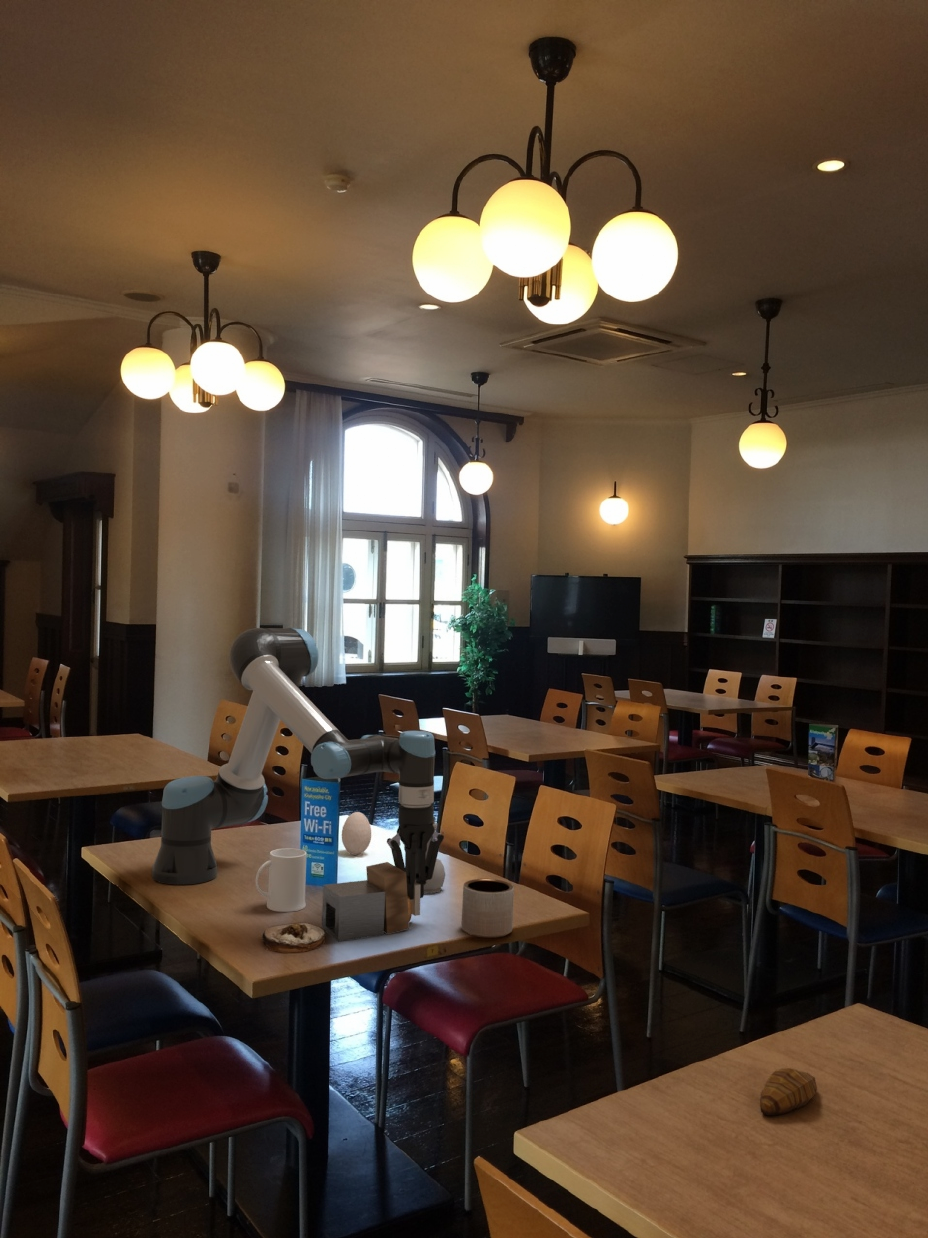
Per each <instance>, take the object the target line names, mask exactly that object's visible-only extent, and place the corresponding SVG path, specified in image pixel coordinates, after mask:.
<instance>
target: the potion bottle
mask: <svg viewBox="0 0 928 1238" xmlns="http://www.w3.org/2000/svg"><path fill="white" fill-rule="evenodd" d="M433 826H434V828H435V831H436V832H437V829H438V823H437V822H436V817H435V816H434V820H433ZM430 841H431V839H430V840H429V841H428V843H427V851H426V856H427V852H428V847H429V843H430ZM425 860H426V859H425ZM445 879H446V871H445V866H444V864H443V862H442V860H441V859H438V858H437V859H436V863H435V868H434V872H433V876H432V879H430V880H429V879H428V880H427V881H426V884H425V885H424V894H436V892H437V893H440V892H441V891H442V888H443V886H444V883H445ZM415 882H416V880H415ZM440 890H441V891H440ZM439 891H440V892H439Z"/></svg>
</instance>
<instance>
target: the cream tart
mask: <svg viewBox="0 0 928 1238" xmlns="http://www.w3.org/2000/svg"><path fill="white" fill-rule="evenodd" d="M261 938H262V941H263V945H265V946H266V947H267V948H266V949H265V950H266V951H275V952H277V953H301V952H302V953H305V952H307V951H314V950H315V949H318V948H320V947H323V946H324V945H325V938H326V931H325V930H324V929H322V927H321V926H318V925H314V924H311V923H306V922H300V923H299V922H298V923H297V922H295V923H289V924H279V925H272V926H269V927H267V928H265V931H264V932H262V937H261Z"/></svg>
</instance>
